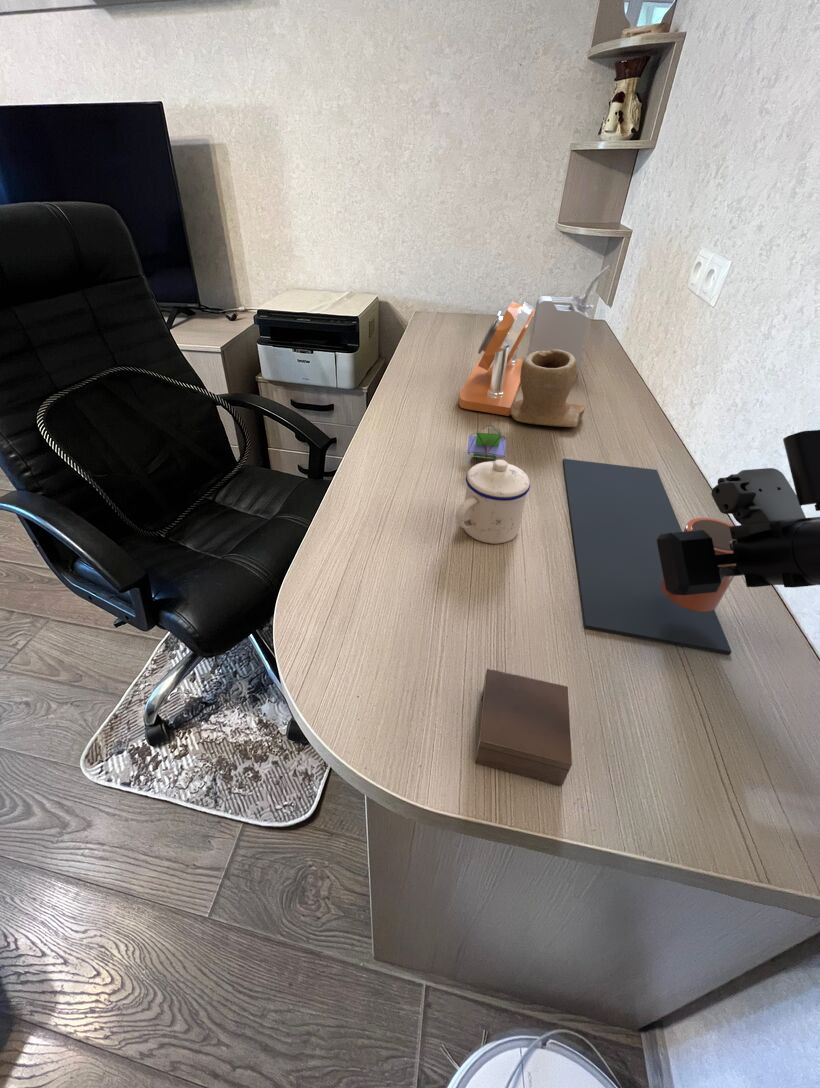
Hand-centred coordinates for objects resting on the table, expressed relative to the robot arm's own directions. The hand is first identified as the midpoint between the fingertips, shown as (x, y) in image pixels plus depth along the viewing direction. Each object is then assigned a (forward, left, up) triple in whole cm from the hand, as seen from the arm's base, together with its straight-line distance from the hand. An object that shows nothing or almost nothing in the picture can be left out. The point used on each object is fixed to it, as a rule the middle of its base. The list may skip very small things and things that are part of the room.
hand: (693, 560), depth 59 cm
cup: (-1, +1, -4) cm, 4 cm away
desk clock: (+51, -47, -8) cm, 70 cm away
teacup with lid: (+26, +2, -8) cm, 27 cm away
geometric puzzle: (+36, -16, -8) cm, 40 cm away
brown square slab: (+7, +28, -8) cm, 30 cm away
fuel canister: (+45, -69, -8) cm, 83 cm away
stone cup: (+34, -38, -8) cm, 52 cm away
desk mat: (+9, -11, -8) cm, 16 cm away
